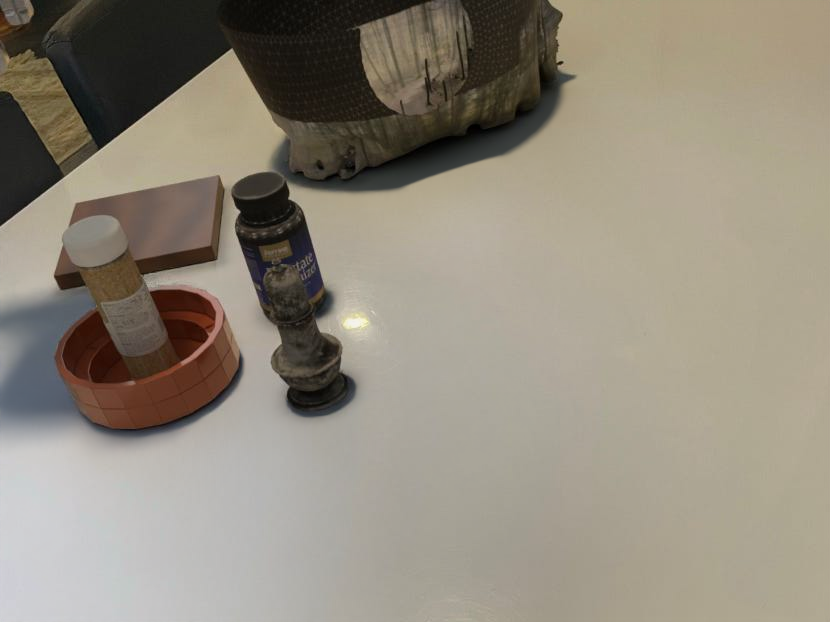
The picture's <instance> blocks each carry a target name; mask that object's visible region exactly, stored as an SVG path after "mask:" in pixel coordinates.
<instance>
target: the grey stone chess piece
mask: <svg viewBox="0 0 830 622" xmlns="http://www.w3.org/2000/svg"><path fill="white" fill-rule="evenodd" d="M280 262H281V260H280V259H278V258H276V257H274V259H273V261H272V264H273V265H274V266H273V267H272V268H270V269H269V270H268V271H267V272H266V274H265V276H264V279H263V284H264V287H265V290H266V293H267V296H268V299H269V302H270V305H271V308H272V312H271V313H270V316H269V320H270V322H271V323H272V324H273V325H274V326H276V329H277V331H278V334H279V336H280V341H281V343H280V345H278V346H277V347H276V348H275V350H274V351H273V353H272V355H271V357H270V365H271V369H272V370H273V371H274V372H275V373H276V374H277V375H278V376H279V378H280V379H281V380H282V381H283V382H284V383H285V384H286V385H287V386H288V389H287V390H286V398H287V402H288V403H289V405H290V406H291V407H293V409H296V410H300V411H303V412H315V411H322V410H324V409H328V408H330V407H332V406H334V405H337V404H338V403H339V402H340V401H342V400H343V399H344V397H345V396H346V395H347V394H348V392H349V390H350V381H349V379H348V377H347V376H346V375H345V374H344V373H343V372H341V371H340V370H341V364H342V354H343V350H344V349H343V348H344V347H343V344H342V342H341V340H340V339H339V338H337V336H334V335H333V334H330V333H327V332H322V331H320V328H319V327H318V324H317V323H318V322H317V320H316V317H315V314H316V311H317V309H316V306H315V304H314V303H313V302H312V301H310V300H308V297H307V294H306V291H305V287H304V284H303V281H302V278H301V275H300V272H299V271H298V269H296V268H295V267H294V266H292V265H287V264H280Z"/></svg>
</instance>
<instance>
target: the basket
mask: <svg viewBox="0 0 830 622" xmlns="http://www.w3.org/2000/svg"><path fill="white" fill-rule="evenodd" d="M215 15H216V16H215V18H216V20H217V22H218V25H219V27H220V28H221V30H222V32H223V34H224V36H225V38H226V40H227V42H228V44H229V45H230V47H231V49H232V51H233V52H234V54H235V56H236V58H237V59H238V61H239V63H240V65H241V67H242V69H243V70H244V72H245V74H246V76H247V77H248V79H249V81H250V83H251V84H252V86H253V87H254V90H255V92H256V93H257V95H258V96H259V98H260V99H261V101H262V103H263V105H264V106H265V108H266V109H267V112H268V113H269V114H270V117H271V119H272V121H273V123H274V124H275V125H276V126H277V127H278V128H279V129H281V130H282V131H283V132H284V133H285V135H286V136H287V137H288V140H289V142H290V144H289V145H290V146H289V151H288V153H287V154H286V155H285V161H286V163H288V168H289V169H290V171H291V172H292V173H294V174H295V173H298V172H301V173H302V172H303V175H304V177H306V178H307V179H310V180H316V181H319V180H325V179H327V177H330V176H332V175H336V174H337V175H338V174H339V176H341V180H348V179H351V178H352V177H354V176H356V173H359V172H360V171H362V170H363V169H364V168H366V167H368V168H371V167H373V168H374V167H375V168H376V167H379V166H380V165H382V164H384V163H386V162H389V161H392V160H395V159H397V158H399V157H402V156H404V155H407V154H409V153H411V152H412V151H414V150H416V149H418V148H420V147H422V146H425V145H427V144H429V143H431V142H434V141H437V140H440V139H442V138H445V137H451V136H452V137H463V136H465V135H467V130H468V128H470V126H472V125H475V124H476V125H479V127H480V128H481V130H487V129H490V128H494V127H499V126H500V125H503V124H506V123H509V122H511V121H514V119H516V118H515V116H516V112H517V110H519V111H520V112H525V111H528V110H529V111H530V110H532V109H533V108H534V107H535V106H536V105H537V103H538V102H539V101H540V99H541V84H551V83H555V82H557V81H558V74H557V71H558V69H559V68H558V67H559V66H561V65H563V64H564V63H565V62H564V60H560V61H558V62H557V60H558V59H557V54H558V53H559V47H560V44H559V39H557V36H558V33H559V32H558V30H559V29H560V27H559V25H560V24H561V22H562V20H563V17H564V14H563V12H562V11H560V10H559V9H558V8H556V7H554V6H553V5H552V3H551V2H550V1H549V0H220V2H219V4H218V5H217V8H216V10H215ZM352 166H354V168H355V169H352V168H351V167H352Z"/></svg>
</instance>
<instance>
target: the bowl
mask: <svg viewBox="0 0 830 622" xmlns="http://www.w3.org/2000/svg"><path fill="white" fill-rule="evenodd" d="M147 288H148V290H149V293H150V295H151V297H152V299H153V301H154V304H155V306H156V308H157V310H158V312H159V315H160V317H161V319H162V321H163V324H164V326H165V328H166V330H167V333H168V337H169V340H170V342H171V344H172V346H173V348H174V350H175V353H176V355H177V357H178V358H179V359H180V360H181V362H180V363H178V364H176V365H175V366H173V367H171V368H170V369H168V370H165V371H162V372H160V373H157V374H155V375H152V376H149V377H147V378H144V379H138V380H133V381H132V378H131V375H130V372H129V370H128V368H127V366H126V364H125V362H124V360H123V358H122V356H121V354H120V353H119V351H118V350H117V348H116V346H115V344H114V342H113V340H112V338H111V336H110V334H109V332H108V330H107V328H106V326H105V324H104V322H103V319H102V316H101V315H100V313H99V311H98V308H97V306H96V307H94V308H92V309H90V310H88V311H87V312H85V313H84V314H83V315H82V316H81V317H79V318H78V319H77V320H76V321H75V322H74V323H72V324H71V325H70V326H69V328H68V329H67V330H66V331H65V332H64V334H63V335H62V337H61V338H60V339H59V341H58V343H57V346H56V349H55V353H54V356H53V360H54V363H55V366H56V371H57V373H58V375H59V377H60V378H61V380H62V382H63V383H64V386H65V387H66V389H67V390H68V392H69V394H70V396H71V397H72V399H73V401H74V403H75V405H76V406H77V408H78V410H79V411H80V413H81V414H83V415H84V416H85V417H86V418H87V419H88V420H90V422H92V423H93V424H94V423H95V424H97V425H100V426H104V427H107V428H110V429H118V430H119V429H120V430H122V429H124V430H138V429H145V428H148V427H154V426H161V425H163V424H167V423H170V422H172V421H175V420H177V419H180V418H183V417H185V416H188V415H190V414H192V413H194V412H196V411H197V410H199V409H200V408H202V407H204V406H205V405H207V404H209V403H210V402H212V401H213V400H214V399H215V398H216V397H217V396H219V394H221V392H223V390H225V389H226V388H227V386H228V385H230V383H231V382H232V380H233V378H234V376H235V374H236V373H237V371H238V369H239V367H240V348H239V345H238V343H237V340H236V338H235V335H234V333H233V331H232V327H231V325H230V323H229V320H228V318H227V315H226V312H225V310H224V308H223V306H222V304H221V303H220V300H219V299H218V298H217V297H216V296H214V295H212V294H211V293H209V292H208V291H206V290H204V289H202V288H198V287H193V286H188V285H185V284H184V285H182V284H179V285H173V284H172V285H156V286H150V287H147Z"/></svg>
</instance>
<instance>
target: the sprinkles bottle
mask: <svg viewBox="0 0 830 622" xmlns="http://www.w3.org/2000/svg"><path fill="white" fill-rule="evenodd" d="M61 243H62V246H63V245H64V247H65V249H66V251H67V253H68V255H69V257H70V259H71V261H72V262H73V263H74V264H75V266H76V267H77V269H78V270H79V272H80V274H81V276H82V278H83V280H84V282H85V284H86V285H85V286H86V288H87V291H88V292H89V295H90V296H91V298H92V300H93V302H94V304H95V306H96V307H97V308H98V311H99V313H100V315H101V316H102V319H103V322H104V324H105V326H106V328H107V330H108V332H109V334H110V336H111V338H112V340H113V342H114V344H115V346H116V348H117V350H118V351H119V353H120V354H121V356H122V358H123V360H124V362H125V364H126V366H127V368H128V370H129V372H130V375H131V378H132V381H133V380H138V379H144V378H147V377H149V376H152V375H155V374H157V373H160V372H162V371H165V370H168V369H170V368H171V367H173V366H175V365H176V364H178V363H180V362H181V360H180V359H179V358H178V357H177V355H176V353H175V350H174V348H173V346H172V344H171V342H170V340H169V337H168V333H167V330H166V328H165V326H164V324H163V321H162V319H161V317H160V315H159V312H158V310H157V308H156V306H155V304H154V301H153V299H152V297H151V295H150V293H149V290H148V288H149V287H148V285H147V283H146V281H145V279H144V277H143V276H142V274H140V272H139V270H138V268H137V266H136V263H135V261H134V259H133V257H132V254H131V252H130V250H129V245H128V240H127V238H126V235H125V233H124V231H123V229H122V227H121V225H120V223H119V221H118V220H117V219H116V218H114V217H111V216H108V215H97V216H91V217H88V218H85V219H82V220H80V221H78V222H76V223H74V224H72V225H71V226H70V227H69V226H68V227H67V228H66V230H65V231H64V232H63V234H62V236H61Z"/></svg>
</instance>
